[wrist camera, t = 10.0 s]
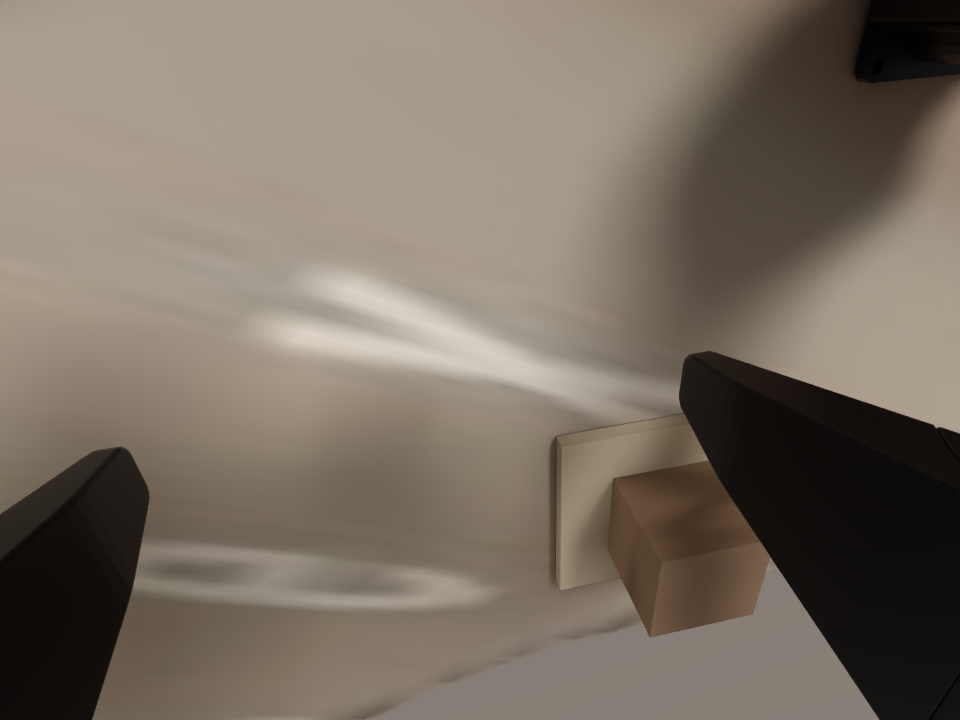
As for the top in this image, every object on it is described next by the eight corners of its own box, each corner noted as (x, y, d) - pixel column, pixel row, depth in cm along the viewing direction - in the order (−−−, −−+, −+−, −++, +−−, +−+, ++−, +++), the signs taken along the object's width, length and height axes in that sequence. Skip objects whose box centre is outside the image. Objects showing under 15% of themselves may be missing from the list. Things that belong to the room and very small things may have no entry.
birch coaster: (755, 400, 27) (766, 410, 26) (723, 543, 32) (731, 553, 31) (556, 436, 26) (561, 447, 25) (555, 578, 31) (560, 590, 30)
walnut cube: (710, 459, 27) (775, 539, 23) (696, 531, 30) (752, 614, 26) (612, 478, 27) (661, 562, 22) (607, 549, 29) (649, 637, 25)
